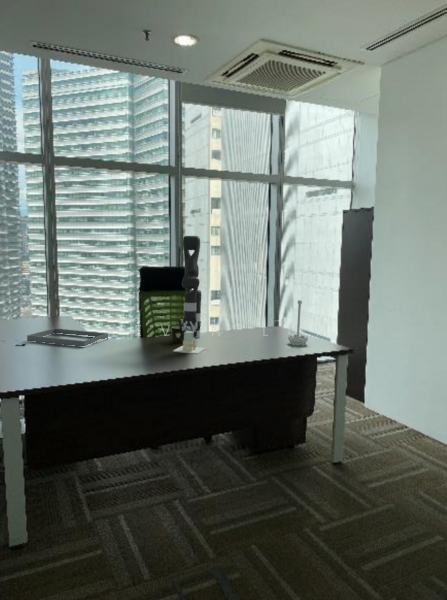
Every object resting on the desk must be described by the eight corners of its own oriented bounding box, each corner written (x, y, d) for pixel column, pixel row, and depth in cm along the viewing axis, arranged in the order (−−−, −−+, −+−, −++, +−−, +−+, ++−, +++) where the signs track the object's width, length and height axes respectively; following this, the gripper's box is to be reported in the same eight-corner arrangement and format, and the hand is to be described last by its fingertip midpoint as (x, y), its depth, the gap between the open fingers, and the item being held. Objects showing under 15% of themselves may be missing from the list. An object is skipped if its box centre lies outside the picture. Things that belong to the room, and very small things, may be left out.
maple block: (186, 348, 277) (186, 338, 276) (195, 349, 275) (195, 339, 275) (182, 350, 271) (183, 340, 271) (192, 351, 270) (192, 341, 269)
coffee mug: (169, 342, 293) (169, 327, 292) (174, 340, 301) (174, 325, 300) (185, 344, 290) (185, 329, 289) (190, 341, 298) (190, 327, 297)
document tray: (54, 333, 310) (54, 328, 310) (108, 339, 298) (108, 333, 298) (27, 341, 284) (27, 335, 284) (84, 347, 272) (84, 341, 272)
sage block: (187, 338, 276) (187, 330, 275) (194, 339, 274) (195, 331, 274) (184, 340, 271) (184, 332, 270) (191, 341, 270) (192, 333, 269)
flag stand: (305, 347, 293) (308, 301, 289) (286, 345, 297) (288, 300, 293) (308, 343, 305) (311, 299, 301) (289, 341, 309) (291, 298, 306)
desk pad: (182, 346, 283) (182, 345, 283) (205, 349, 279) (205, 348, 279) (173, 351, 270) (173, 350, 270) (198, 354, 266) (198, 353, 265)
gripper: (203, 309, 272) (202, 336, 274) (181, 308, 276) (180, 334, 278) (199, 311, 265) (198, 339, 267) (176, 309, 269) (176, 337, 271)
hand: (189, 336), depth 272 cm, fingers open, 6 cm apart
